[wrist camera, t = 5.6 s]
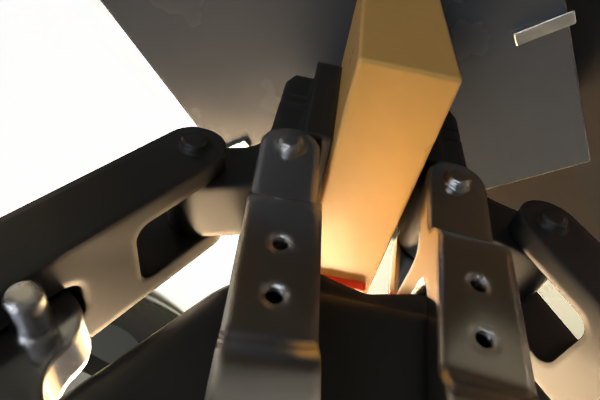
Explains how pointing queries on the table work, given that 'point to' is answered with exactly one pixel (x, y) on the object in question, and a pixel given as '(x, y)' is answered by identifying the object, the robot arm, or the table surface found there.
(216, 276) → the table surface
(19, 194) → the table surface
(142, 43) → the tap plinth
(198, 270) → the table surface
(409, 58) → the tap lever
